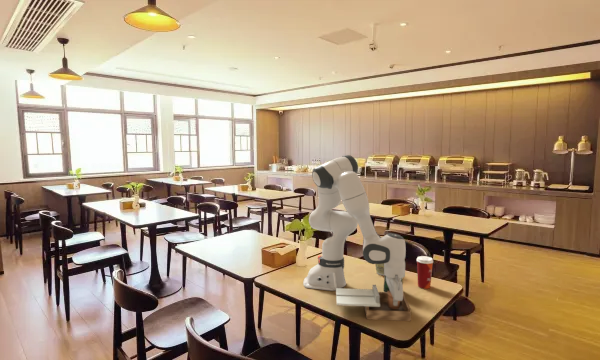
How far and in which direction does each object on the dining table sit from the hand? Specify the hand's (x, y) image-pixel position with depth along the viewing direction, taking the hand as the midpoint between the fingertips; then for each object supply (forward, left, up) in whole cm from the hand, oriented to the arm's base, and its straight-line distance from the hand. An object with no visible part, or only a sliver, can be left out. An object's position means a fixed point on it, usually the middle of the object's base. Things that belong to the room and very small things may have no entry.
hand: (393, 301), depth 148 cm
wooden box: (-3, 0, -4) cm, 5 cm away
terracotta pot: (0, 0, -2) cm, 2 cm away
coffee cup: (+21, +28, -4) cm, 35 cm away
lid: (-16, 0, +1) cm, 16 cm away
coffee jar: (+4, +20, -4) cm, 21 cm away
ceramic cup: (+4, +44, -4) cm, 44 cm away
